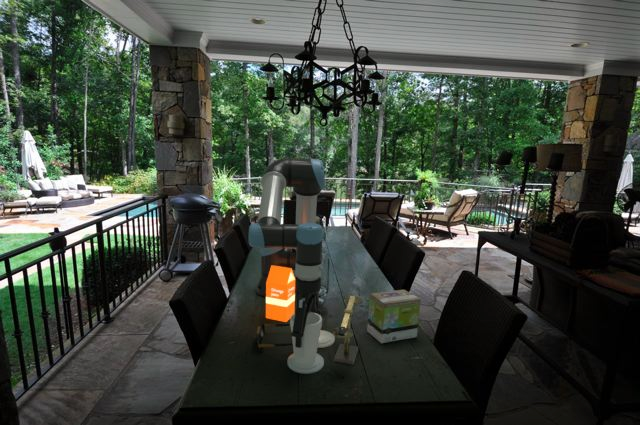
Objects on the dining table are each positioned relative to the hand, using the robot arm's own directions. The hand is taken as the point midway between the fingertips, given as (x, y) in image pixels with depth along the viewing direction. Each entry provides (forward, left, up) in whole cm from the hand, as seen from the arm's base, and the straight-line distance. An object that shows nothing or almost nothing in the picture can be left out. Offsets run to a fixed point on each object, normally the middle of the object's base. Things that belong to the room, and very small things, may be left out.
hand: (306, 344), depth 108 cm
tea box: (+24, +27, -6) cm, 37 cm away
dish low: (0, 0, -6) cm, 6 cm away
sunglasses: (-12, +9, -7) cm, 16 cm away
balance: (+11, +8, -6) cm, 15 cm away
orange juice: (-19, +28, -6) cm, 34 cm away
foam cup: (0, 0, -5) cm, 5 cm away
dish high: (0, +15, -6) cm, 16 cm away
